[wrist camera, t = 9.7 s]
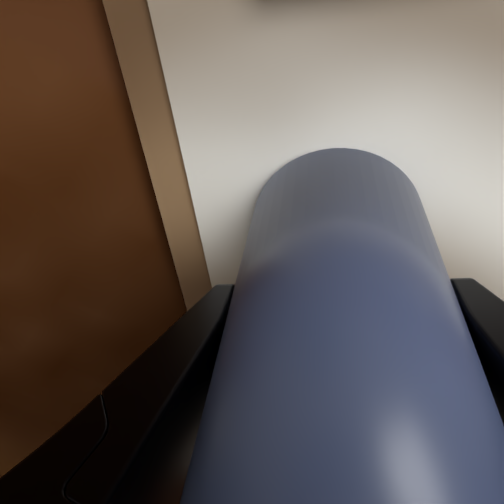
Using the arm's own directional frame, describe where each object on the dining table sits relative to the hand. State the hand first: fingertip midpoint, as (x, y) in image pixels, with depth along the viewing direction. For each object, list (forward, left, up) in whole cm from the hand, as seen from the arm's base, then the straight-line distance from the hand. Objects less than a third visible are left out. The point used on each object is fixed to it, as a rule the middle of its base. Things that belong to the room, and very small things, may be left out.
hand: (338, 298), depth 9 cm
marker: (0, 0, -2) cm, 3 cm away
